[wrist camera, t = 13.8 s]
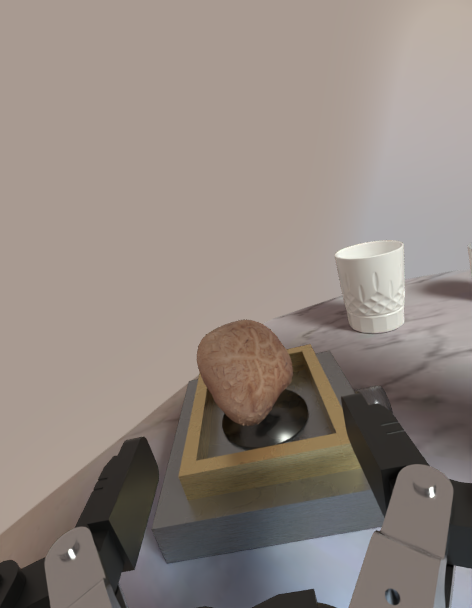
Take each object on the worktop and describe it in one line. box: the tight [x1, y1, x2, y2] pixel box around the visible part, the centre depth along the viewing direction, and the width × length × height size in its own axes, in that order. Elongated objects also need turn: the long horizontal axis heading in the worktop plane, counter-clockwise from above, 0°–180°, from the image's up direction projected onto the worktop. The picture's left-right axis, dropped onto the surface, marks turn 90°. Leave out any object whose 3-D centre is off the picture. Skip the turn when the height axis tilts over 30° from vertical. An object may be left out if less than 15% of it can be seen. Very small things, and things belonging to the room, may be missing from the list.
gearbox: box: [152, 344, 393, 563], centre depth 28 cm, size 17×19×5 cm
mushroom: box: [197, 320, 293, 426], centre depth 25 cm, size 8×6×8 cm
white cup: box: [335, 241, 405, 333], centre depth 41 cm, size 8×8×10 cm
